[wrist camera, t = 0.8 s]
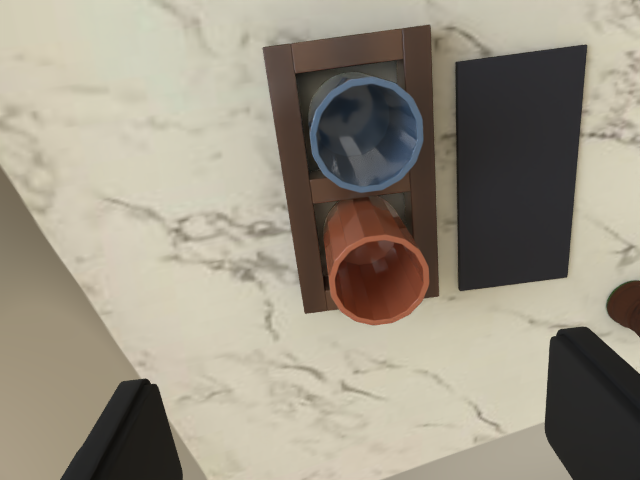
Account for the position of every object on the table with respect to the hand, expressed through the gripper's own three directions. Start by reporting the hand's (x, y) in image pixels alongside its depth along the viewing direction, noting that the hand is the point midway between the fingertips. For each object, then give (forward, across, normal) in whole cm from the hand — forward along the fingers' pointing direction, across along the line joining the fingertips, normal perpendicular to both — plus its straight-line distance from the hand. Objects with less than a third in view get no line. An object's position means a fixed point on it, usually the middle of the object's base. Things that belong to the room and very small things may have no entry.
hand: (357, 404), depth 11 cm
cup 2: (+29, -3, +6) cm, 30 cm away
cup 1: (+29, -3, -4) cm, 29 cm away
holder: (+29, -3, +1) cm, 29 cm away
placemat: (+29, -16, +3) cm, 34 cm away
